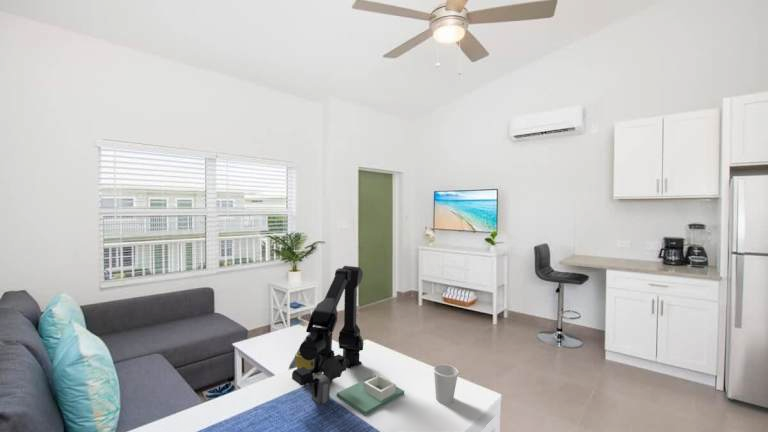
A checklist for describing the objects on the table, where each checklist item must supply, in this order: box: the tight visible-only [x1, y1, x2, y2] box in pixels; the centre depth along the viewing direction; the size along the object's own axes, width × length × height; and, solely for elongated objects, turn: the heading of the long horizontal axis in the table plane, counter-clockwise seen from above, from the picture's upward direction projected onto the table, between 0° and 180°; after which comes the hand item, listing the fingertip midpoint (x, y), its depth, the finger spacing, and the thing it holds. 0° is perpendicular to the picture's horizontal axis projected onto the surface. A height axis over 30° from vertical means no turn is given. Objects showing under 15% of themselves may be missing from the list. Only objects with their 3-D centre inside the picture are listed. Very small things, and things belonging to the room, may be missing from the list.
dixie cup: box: [433, 363, 460, 405], centre depth 115 cm, size 8×8×10 cm
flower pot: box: [295, 352, 323, 376], centre depth 126 cm, size 9×9×9 cm
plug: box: [311, 373, 331, 405], centre depth 111 cm, size 4×4×7 cm
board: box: [336, 375, 405, 416], centre depth 115 cm, size 14×18×4 cm
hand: (320, 394), depth 112 cm, fingers closed on plug, 4 cm apart
